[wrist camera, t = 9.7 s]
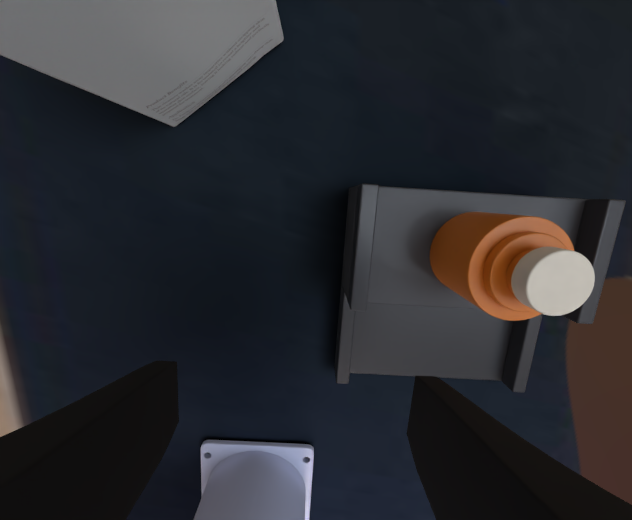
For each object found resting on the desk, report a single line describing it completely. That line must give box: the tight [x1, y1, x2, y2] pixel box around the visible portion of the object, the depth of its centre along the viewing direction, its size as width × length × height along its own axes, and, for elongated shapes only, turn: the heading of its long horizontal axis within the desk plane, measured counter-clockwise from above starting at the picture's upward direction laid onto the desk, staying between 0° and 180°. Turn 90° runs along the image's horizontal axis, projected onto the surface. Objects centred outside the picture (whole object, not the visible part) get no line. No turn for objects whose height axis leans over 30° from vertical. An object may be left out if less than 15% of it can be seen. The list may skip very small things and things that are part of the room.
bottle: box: [430, 212, 595, 321], centre depth 12 cm, size 4×4×6 cm
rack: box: [334, 183, 625, 392], centre depth 17 cm, size 12×12×5 cm
